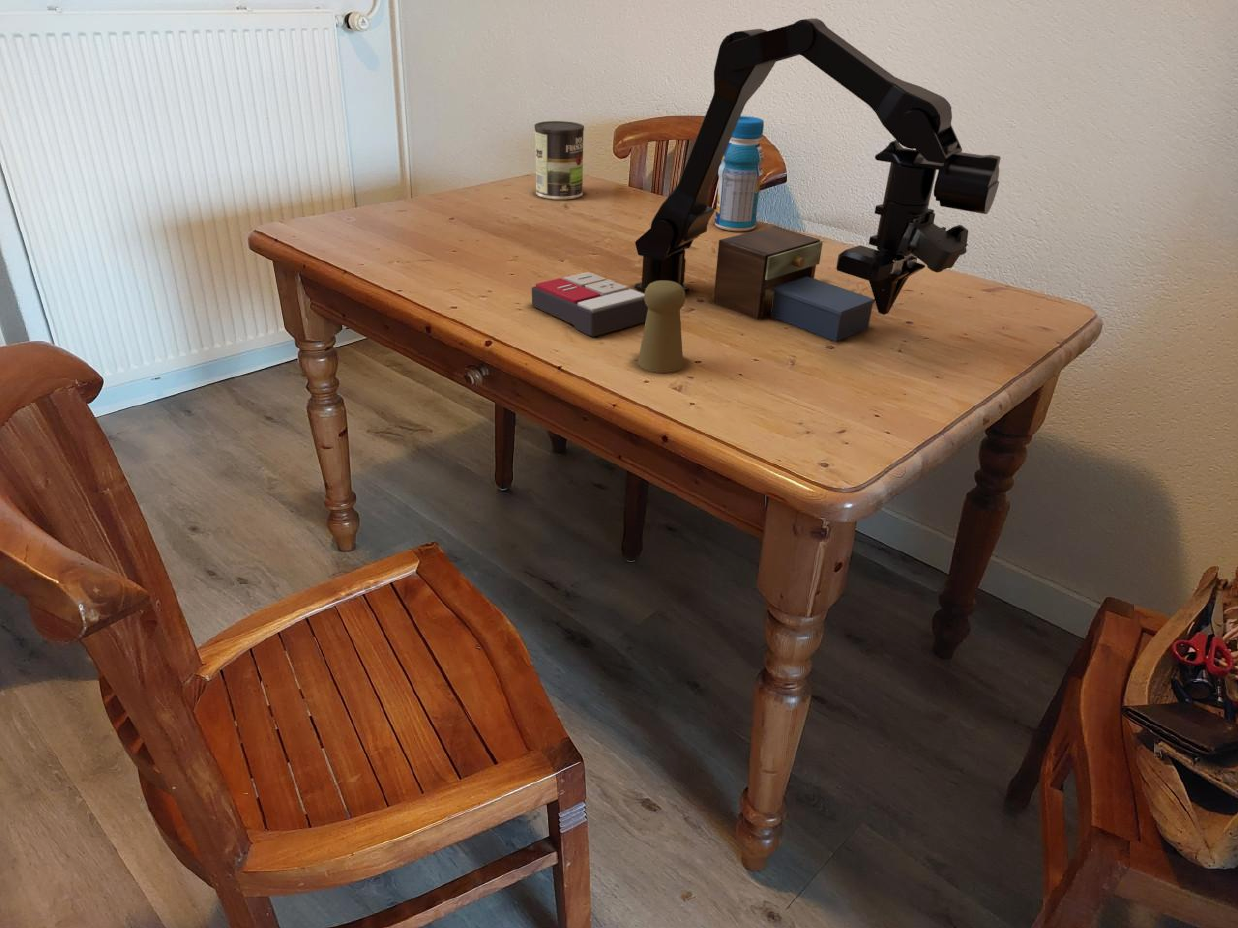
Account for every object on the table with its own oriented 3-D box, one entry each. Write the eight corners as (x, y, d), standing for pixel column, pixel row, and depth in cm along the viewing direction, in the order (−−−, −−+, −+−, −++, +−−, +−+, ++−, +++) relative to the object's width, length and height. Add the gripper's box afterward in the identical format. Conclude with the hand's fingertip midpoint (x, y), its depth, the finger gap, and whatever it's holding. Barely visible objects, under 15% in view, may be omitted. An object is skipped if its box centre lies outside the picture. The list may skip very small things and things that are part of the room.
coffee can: (592, 193, 190) (593, 125, 183) (565, 202, 183) (566, 132, 175) (553, 185, 194) (552, 118, 187) (525, 195, 187) (524, 125, 179)
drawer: (773, 282, 126) (776, 259, 124) (722, 264, 132) (724, 242, 130) (825, 266, 133) (829, 244, 131) (775, 249, 139) (777, 228, 138)
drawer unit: (757, 319, 130) (765, 255, 125) (712, 302, 136) (718, 240, 131) (810, 300, 138) (820, 239, 133) (766, 285, 143) (774, 225, 138)
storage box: (836, 342, 124) (841, 311, 121) (768, 316, 131) (772, 287, 129) (869, 328, 129) (875, 299, 126) (802, 304, 136) (807, 276, 134)
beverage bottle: (729, 234, 167) (741, 124, 157) (705, 223, 173) (714, 116, 163) (765, 229, 171) (778, 122, 160) (739, 218, 177) (750, 114, 166)
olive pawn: (635, 354, 118) (639, 275, 112) (679, 353, 118) (685, 275, 113) (640, 373, 113) (644, 291, 107) (686, 373, 113) (693, 292, 107)
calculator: (588, 268, 136) (652, 292, 126) (588, 295, 138) (651, 320, 128) (529, 282, 130) (592, 307, 119) (531, 310, 132) (592, 337, 122)
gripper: (923, 226, 103) (896, 348, 111) (999, 203, 114) (970, 315, 122) (844, 205, 109) (824, 322, 118) (923, 185, 120) (900, 293, 129)
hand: (883, 313), depth 121 cm, fingers closed
